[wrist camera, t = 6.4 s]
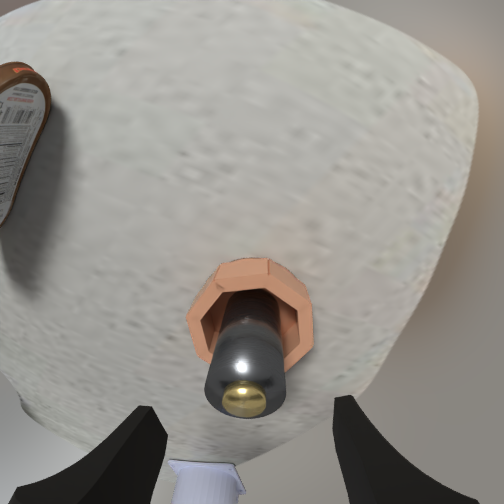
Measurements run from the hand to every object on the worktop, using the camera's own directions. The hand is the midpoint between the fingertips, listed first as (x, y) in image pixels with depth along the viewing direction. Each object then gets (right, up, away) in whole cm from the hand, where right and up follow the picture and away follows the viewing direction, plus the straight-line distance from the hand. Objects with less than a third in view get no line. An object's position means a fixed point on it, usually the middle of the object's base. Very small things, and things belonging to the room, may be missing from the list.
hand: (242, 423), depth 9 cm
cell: (0, +3, +9) cm, 9 cm away
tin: (-18, +14, +7) cm, 24 cm away
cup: (0, +3, +9) cm, 10 cm away
